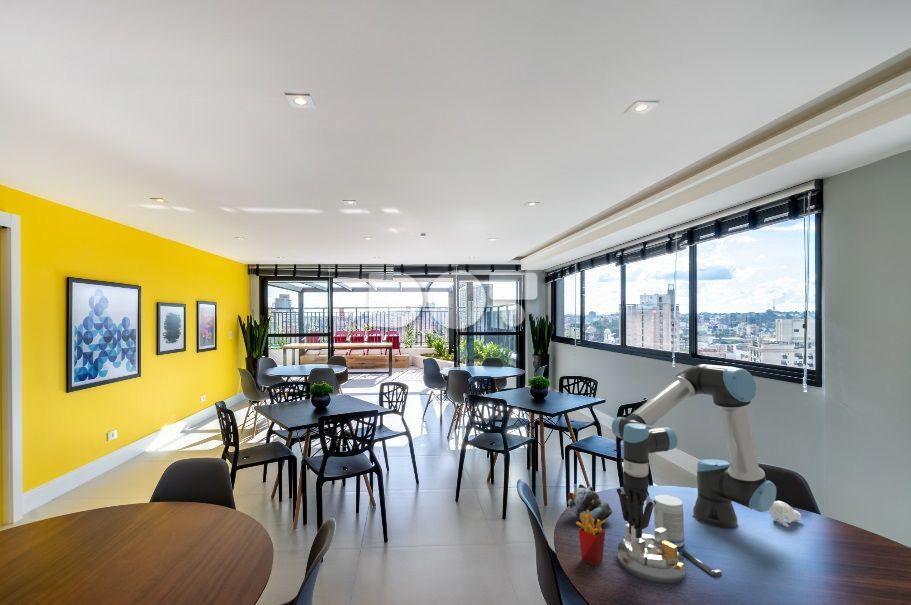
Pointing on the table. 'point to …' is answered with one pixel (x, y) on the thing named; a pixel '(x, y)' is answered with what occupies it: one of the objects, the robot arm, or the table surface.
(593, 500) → the lucky cat figurine
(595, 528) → the french fries
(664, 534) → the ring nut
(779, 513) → the white animal figurine
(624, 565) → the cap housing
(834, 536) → the table surface
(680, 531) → the supplement tub
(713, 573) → the pin spanner
